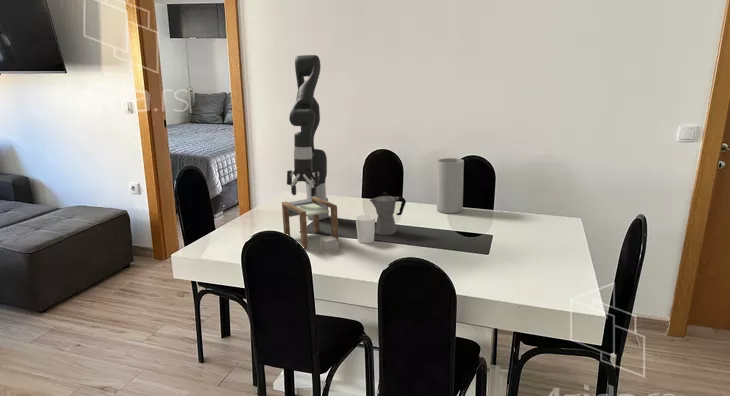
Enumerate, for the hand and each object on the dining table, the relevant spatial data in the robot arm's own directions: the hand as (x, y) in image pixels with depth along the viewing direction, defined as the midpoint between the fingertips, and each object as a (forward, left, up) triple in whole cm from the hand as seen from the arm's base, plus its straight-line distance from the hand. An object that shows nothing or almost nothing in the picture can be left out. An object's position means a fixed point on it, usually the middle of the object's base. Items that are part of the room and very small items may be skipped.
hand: (303, 195), depth 218 cm
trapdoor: (+1, +4, -9) cm, 9 cm away
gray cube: (+1, +23, -18) cm, 29 cm away
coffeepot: (-31, +18, -18) cm, 40 cm away
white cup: (-17, +22, -18) cm, 33 cm away
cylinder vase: (-75, +8, -18) cm, 77 cm away
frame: (+1, +7, -18) cm, 19 cm away
